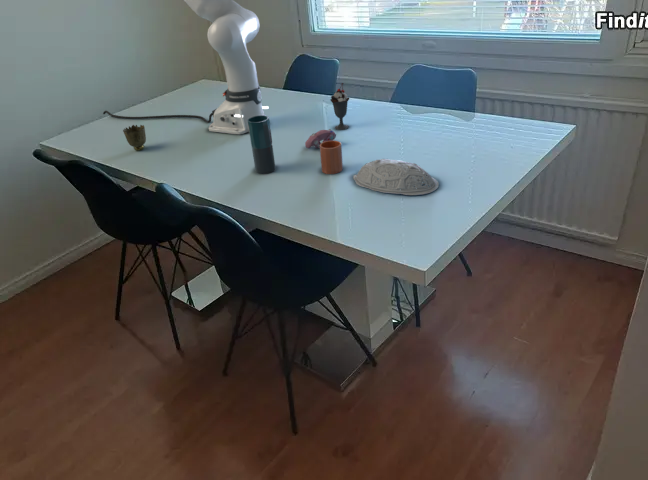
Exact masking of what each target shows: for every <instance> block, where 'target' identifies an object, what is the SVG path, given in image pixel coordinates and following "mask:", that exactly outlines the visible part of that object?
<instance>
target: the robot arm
mask: <svg viewBox="0 0 648 480" xmlns="http://www.w3.org/2000/svg"><path fill="white" fill-rule="evenodd" d="M183 2H185V4H186V5H187V6H188V7H189V8H190V9H191V10H192V12H194V13H195V14H196V15H197V17H199V18H200V19H204V20H206V21H208V22H210V23H211V25H210V26H209V27H208V29H207V35H206V36H207V40H208V41H207V42H208V44H209V45H210V47H211V48H212V49H213V50H214V51H216V52H217V54H218V56H219V58H220V60H221V63H222V65H223V69H224V73H225V74H224V75H225V78H226V83H227V89H225V90H224V92H222V97H225V100H224V101H222V103H220V105H219V106H218V107H216V108H215V109H213V110H211V113H210V114H209V116H208V119H206V118H205V117H203V116H201V115H196V114H195V115H192V114H167V115H148V116H123V115H116V114H112V113H111V112H109V111H108V110H104V111H103V113H102V115H106V114H108V115H109V116H110V117H112V118H117V119H124V120H125V119H126V120H127V119H128V120H131V119H132V120H142V119H143V120H145V119H148V120H149V119H163V118H164V119H166V118H193V119H200V120H202V121H203V122H205V123H207V124H209V126H208V131H209V132H212V133H223V134H230V135H243V134H247V133H249V127H248V121H247V120H248V119H249V118H251V117H254V116H260V115H264V116H266V113H265V111H264V110H268V109H269V106H268V105H266V106H265V105H264V106H263V103H262V90H261V86H260V84H259V79H258V73H257V71H258V70H257V65H256V63H255V61H254V60H252V57H251V56H250V54H249V51H248V47H247V44H248V43H250V42H252V41H253V40H255V38H256V36H257V35H258V33H259V31H260V28H261V27H260V26H261V25H260V19H259V17H258V16H257V14H256V13H255V12H254V11H252V10H250V9H247V8H245V7H244V6H241V4H240V3H238V2H236V1H235V0H183ZM212 117H213V122H212ZM210 123H211V124H210Z"/></svg>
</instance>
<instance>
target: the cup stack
mask: <svg viewBox="0 0 648 480" xmlns="http://www.w3.org/2000/svg"><path fill="white" fill-rule="evenodd" d="M247 121H248V127H249V132H248V134H249V140H250V145H251V151H252V158H253V164H254V170H255V173H257V174H261V175H264V174H270V173H272V172H275V171H276V168H277V167H276V161H275V154H274V145H273V138H272V129H271V122H270V121H271V120H270V117H269V116H268V115H265V116H264V115H260V116H254V117H251V118H249V119H248V120H247Z"/></svg>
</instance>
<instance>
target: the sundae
mask: <svg viewBox="0 0 648 480" xmlns="http://www.w3.org/2000/svg"><path fill="white" fill-rule="evenodd" d="M340 85H341V86H340V88H338V89H337V90H336V91H335V92H334V94H333V95H331V96H330V99H329V100H330V102H331V103H332V107H333V111H334V115H335V117H336V118H338V119H339V124H338V125H335V126H334V129H335V130H336V131H344V130H347V129H349V127H350V126H349V125H347V124H344V118H345V117H346V116H347V112H348V104H349V103H348V102H349V100H350V97H348V95H347V93H345V92H346V91H345V90H344V83H343V82H342V83H341V84H340Z"/></svg>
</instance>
